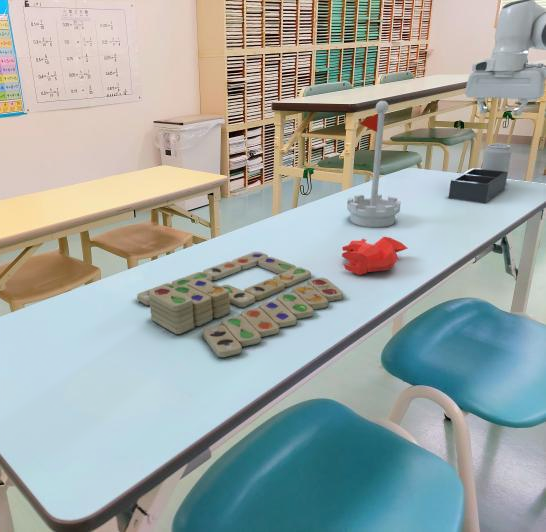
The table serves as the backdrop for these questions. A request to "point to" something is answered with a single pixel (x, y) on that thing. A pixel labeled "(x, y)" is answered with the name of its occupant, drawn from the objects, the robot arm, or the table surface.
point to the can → (497, 157)
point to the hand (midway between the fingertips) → (499, 114)
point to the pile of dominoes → (238, 302)
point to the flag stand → (374, 184)
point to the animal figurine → (371, 255)
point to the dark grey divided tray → (478, 185)
